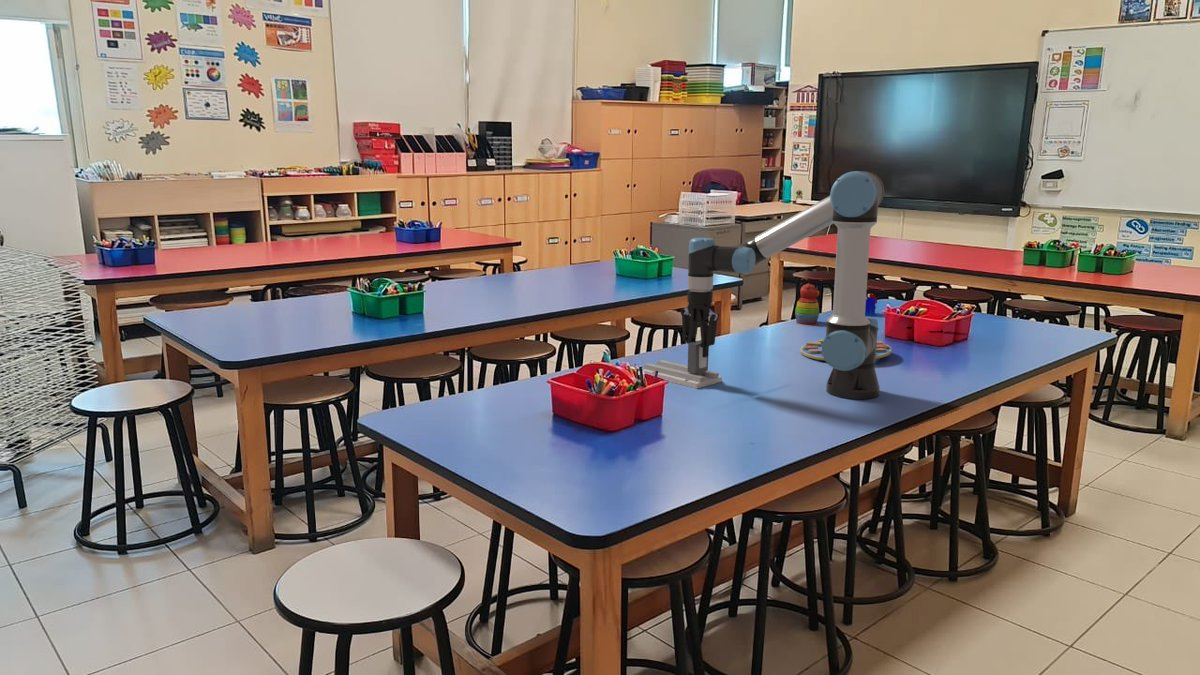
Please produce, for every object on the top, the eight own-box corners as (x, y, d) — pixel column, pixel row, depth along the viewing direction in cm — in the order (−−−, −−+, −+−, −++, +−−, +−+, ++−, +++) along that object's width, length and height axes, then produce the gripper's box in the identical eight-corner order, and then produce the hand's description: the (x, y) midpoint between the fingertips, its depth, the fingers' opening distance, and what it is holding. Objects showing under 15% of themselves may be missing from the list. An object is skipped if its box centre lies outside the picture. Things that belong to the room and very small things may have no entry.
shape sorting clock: (799, 345, 319) (799, 329, 318) (885, 350, 313) (887, 333, 312) (800, 364, 290) (801, 347, 289) (896, 370, 284) (897, 352, 283)
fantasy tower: (873, 317, 374) (875, 290, 372) (883, 322, 363) (885, 294, 360) (846, 317, 374) (848, 290, 371) (855, 322, 362) (857, 294, 360)
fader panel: (721, 381, 267) (722, 372, 266) (696, 388, 258) (696, 378, 258) (665, 368, 283) (665, 359, 282) (640, 374, 274) (640, 365, 274)
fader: (707, 375, 266) (708, 341, 264) (694, 378, 262) (696, 344, 260) (699, 373, 268) (701, 340, 266) (687, 377, 264) (688, 343, 262)
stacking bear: (818, 331, 344) (821, 286, 340) (792, 329, 347) (794, 285, 344) (821, 326, 354) (824, 283, 350) (796, 324, 357) (798, 281, 354)
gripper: (729, 291, 257) (726, 368, 262) (687, 285, 268) (685, 359, 273) (713, 294, 252) (710, 373, 256) (671, 288, 263) (669, 363, 268)
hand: (697, 366), depth 265 cm, fingers closed on fader, 3 cm apart
